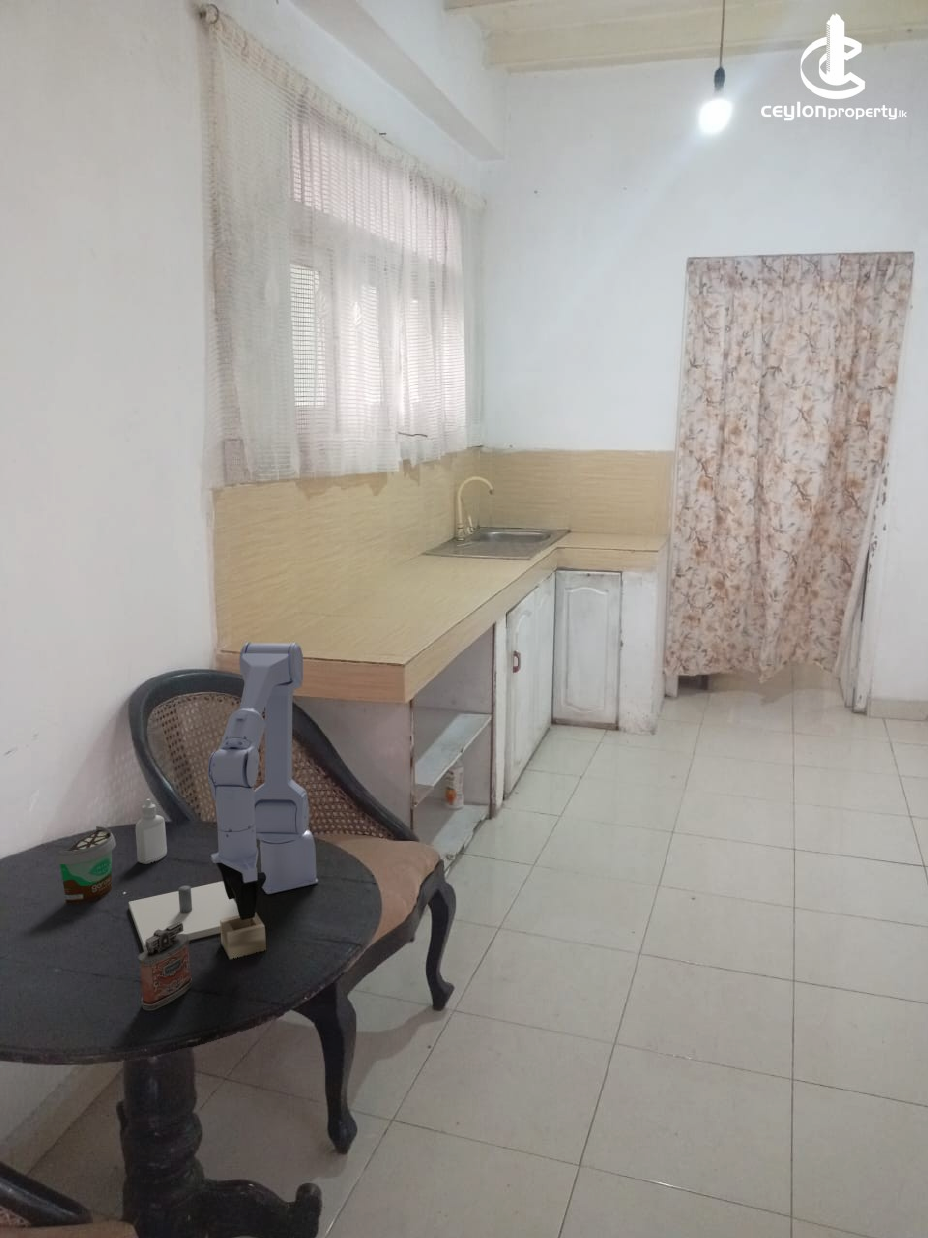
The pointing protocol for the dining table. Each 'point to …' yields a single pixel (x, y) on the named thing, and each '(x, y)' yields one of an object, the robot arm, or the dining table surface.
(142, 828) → the eye dropper bottle
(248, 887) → the robot arm
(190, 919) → the post board
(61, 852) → the food container
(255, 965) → the dining table surface
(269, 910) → the dining table surface
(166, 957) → the lighter
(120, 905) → the dining table surface
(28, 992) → the dining table surface
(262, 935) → the maple sleeve
